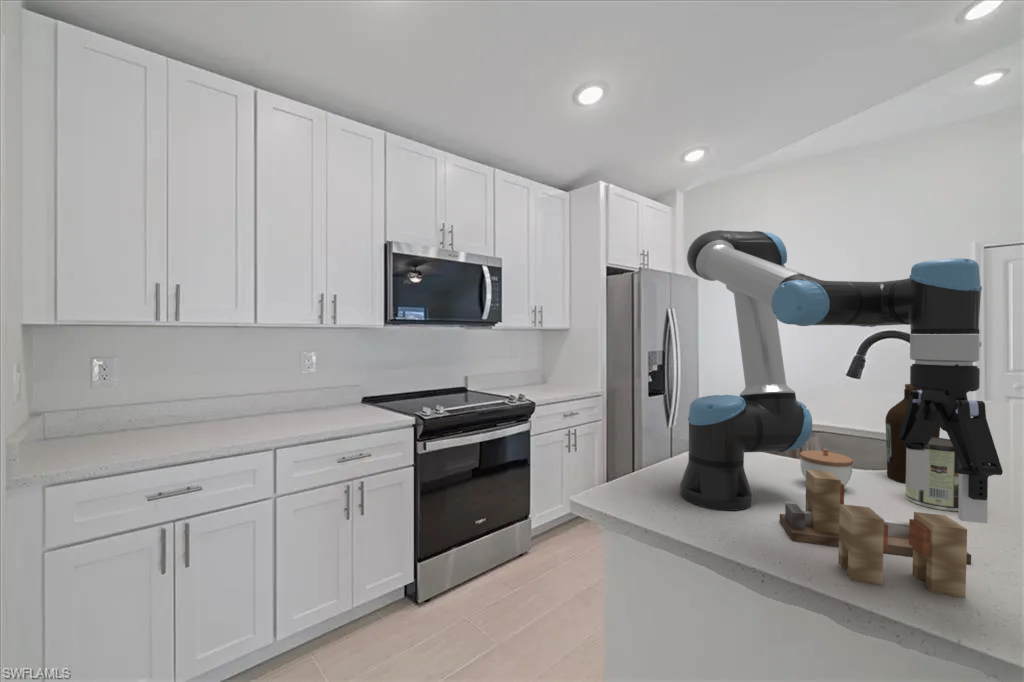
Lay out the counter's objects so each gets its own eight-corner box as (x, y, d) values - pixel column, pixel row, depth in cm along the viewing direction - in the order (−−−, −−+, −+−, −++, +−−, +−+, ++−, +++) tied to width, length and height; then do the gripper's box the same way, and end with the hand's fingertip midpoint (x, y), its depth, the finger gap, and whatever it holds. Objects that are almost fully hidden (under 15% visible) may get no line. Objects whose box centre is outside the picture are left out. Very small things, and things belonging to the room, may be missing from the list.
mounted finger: (814, 531, 83) (815, 477, 83) (805, 520, 88) (806, 469, 88) (844, 535, 81) (845, 480, 81) (833, 523, 86) (834, 472, 86)
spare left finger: (851, 580, 69) (852, 516, 69) (838, 563, 74) (839, 504, 74) (888, 585, 68) (890, 520, 68) (873, 568, 73) (874, 507, 73)
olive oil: (940, 480, 116) (942, 384, 115) (937, 490, 109) (939, 388, 108) (887, 471, 124) (889, 381, 123) (881, 479, 116) (883, 384, 116)
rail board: (792, 540, 82) (792, 516, 82) (779, 520, 91) (779, 499, 91) (971, 564, 74) (971, 537, 74) (938, 539, 83) (939, 515, 83)
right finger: (924, 591, 66) (926, 524, 66) (906, 573, 71) (907, 511, 71) (965, 597, 65) (967, 529, 65) (943, 578, 70) (945, 515, 70)
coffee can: (944, 496, 105) (945, 436, 105) (980, 513, 95) (982, 447, 95) (893, 492, 107) (895, 434, 107) (923, 509, 97) (925, 445, 97)
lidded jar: (858, 497, 104) (859, 457, 104) (804, 491, 108) (805, 452, 108) (844, 482, 114) (844, 446, 114) (795, 477, 118) (795, 442, 118)
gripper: (1044, 369, 54) (1042, 543, 54) (927, 359, 78) (926, 481, 78) (966, 367, 57) (965, 534, 57) (875, 359, 80) (874, 476, 80)
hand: (942, 503), depth 67 cm, fingers open, 13 cm apart
